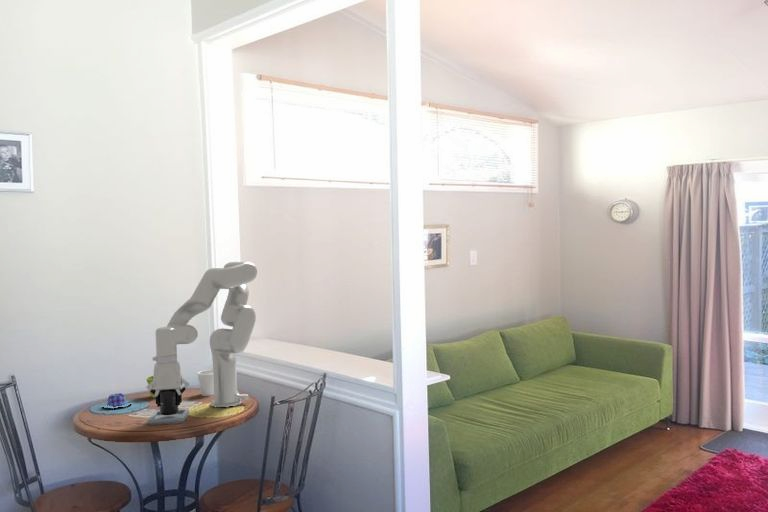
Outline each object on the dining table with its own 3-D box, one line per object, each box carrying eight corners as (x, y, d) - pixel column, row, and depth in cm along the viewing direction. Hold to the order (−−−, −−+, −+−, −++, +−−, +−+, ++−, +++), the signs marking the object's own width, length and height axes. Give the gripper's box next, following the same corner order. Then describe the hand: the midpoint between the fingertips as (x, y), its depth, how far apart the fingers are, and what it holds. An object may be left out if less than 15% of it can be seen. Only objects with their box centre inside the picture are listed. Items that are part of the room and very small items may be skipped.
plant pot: (164, 398, 291) (163, 379, 291) (143, 399, 292) (142, 379, 291) (171, 393, 301) (171, 374, 301) (151, 394, 301) (150, 375, 301)
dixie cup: (218, 391, 302) (217, 369, 302) (215, 396, 294) (214, 373, 293) (200, 392, 301) (199, 370, 301) (196, 397, 293) (195, 374, 293)
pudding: (129, 402, 289) (128, 390, 289) (134, 407, 279) (134, 395, 278) (99, 406, 283) (99, 394, 282) (104, 412, 272) (103, 399, 272)
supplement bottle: (156, 415, 255) (155, 384, 255) (165, 410, 262) (164, 380, 261) (172, 415, 254) (171, 384, 253) (181, 411, 260) (180, 380, 260)
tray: (189, 413, 265) (189, 408, 265) (183, 422, 252) (183, 417, 252) (155, 415, 263) (155, 410, 263) (147, 425, 250) (147, 419, 250)
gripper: (141, 362, 252) (143, 409, 253) (188, 359, 254) (190, 406, 255) (145, 358, 260) (147, 404, 260) (191, 356, 262) (193, 401, 262)
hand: (169, 404), depth 258 cm, fingers closed on supplement bottle, 6 cm apart
